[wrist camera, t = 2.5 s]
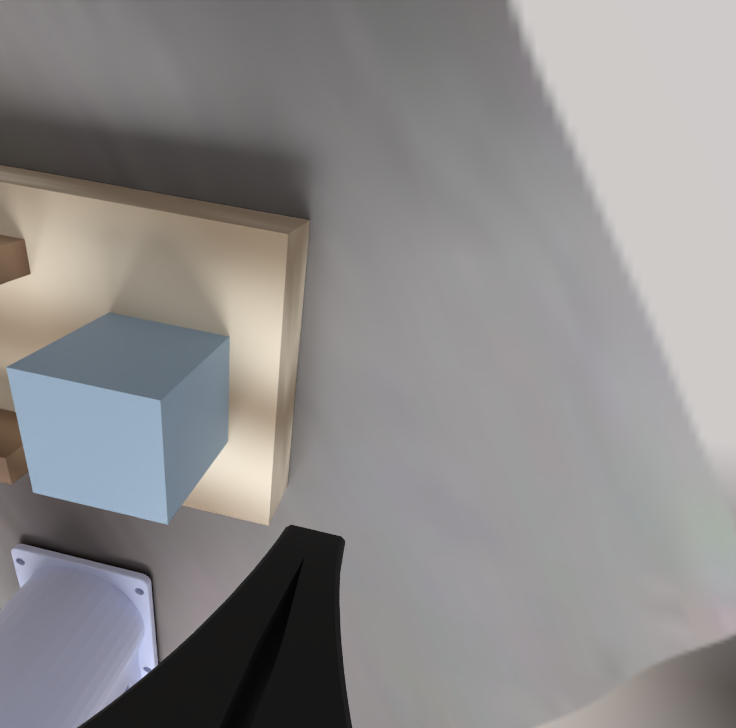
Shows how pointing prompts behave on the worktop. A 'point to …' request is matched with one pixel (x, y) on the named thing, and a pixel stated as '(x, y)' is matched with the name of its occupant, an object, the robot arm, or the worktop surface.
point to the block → (123, 414)
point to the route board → (161, 306)
